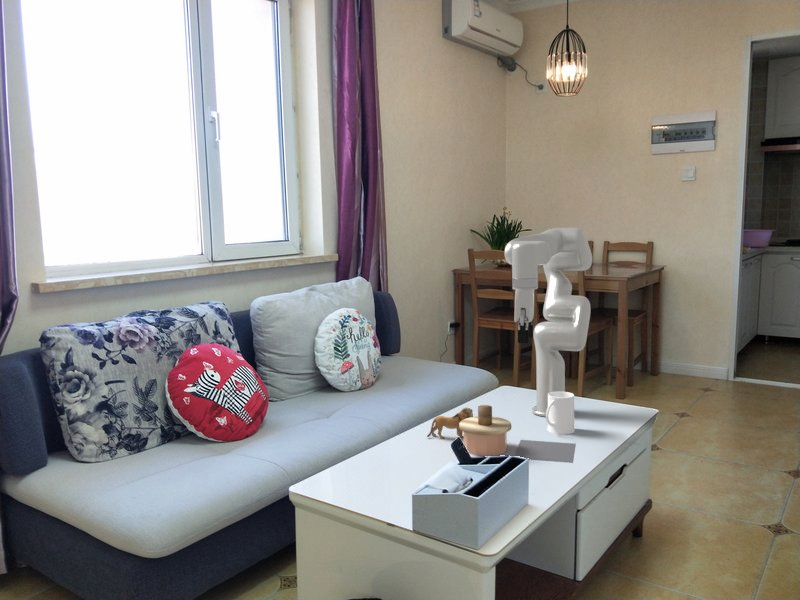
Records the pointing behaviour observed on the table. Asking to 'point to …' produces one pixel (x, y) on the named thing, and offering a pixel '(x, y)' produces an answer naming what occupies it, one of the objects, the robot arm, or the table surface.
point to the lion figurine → (450, 422)
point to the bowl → (485, 444)
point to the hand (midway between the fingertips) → (525, 340)
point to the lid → (485, 423)
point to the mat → (546, 451)
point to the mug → (560, 412)
